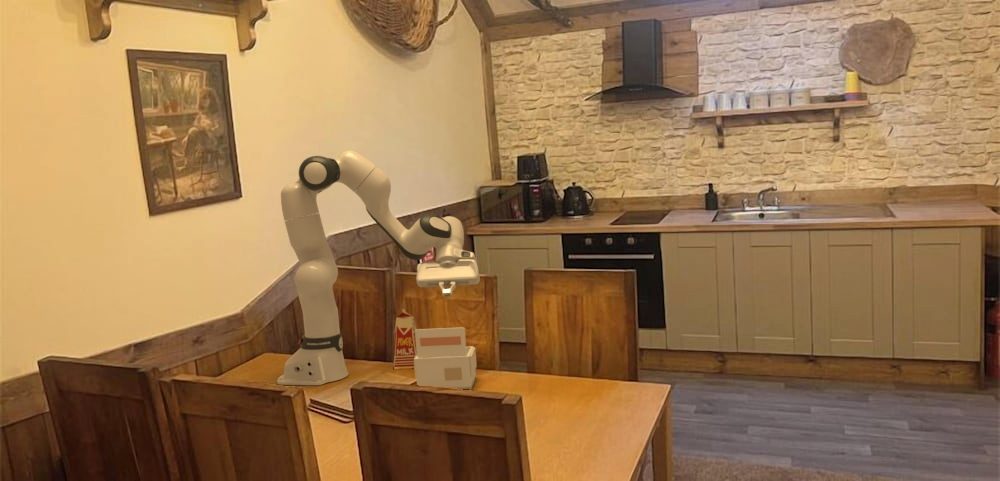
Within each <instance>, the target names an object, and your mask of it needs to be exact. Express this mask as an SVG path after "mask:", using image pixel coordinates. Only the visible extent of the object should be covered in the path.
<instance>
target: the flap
mask: <svg viewBox="0 0 1000 481" xmlns="http://www.w3.org/2000/svg"><path fill="white" fill-rule="evenodd" d="M415 337H416V351H417V357H425V356H448V355H466V347H467V344H466V343H467V341H466V328H465V327H463V326H461V327H460V326H459V327H445V328H444V327H443V328H442V327H440V328H438V327H437V328H418V329H416V330H415Z"/></svg>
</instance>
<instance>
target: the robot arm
mask: <svg viewBox="0 0 1000 481" xmlns="http://www.w3.org/2000/svg"><path fill="white" fill-rule="evenodd" d="M298 177H299V178H298V180H297V181H295V182H291V183H289V184H287V185H285V186H283V188H282V190H281V192H280V201H281V202H280V204H281V210H282V211H281V212H282V216H283V220H284V223H285V224H284V225H285V229H286V232H287V234H288V235H287V236H288V239H289V243H290V246H291V247H292V249H293V250H294V252H295V255H296V257H297V259H298V262H299V265H300V266H299V267H298V268H297V270H296V272H295V275H294V285H295V288H296V290H297V295H298V299H299V303H300V307H301V311H302V317H303V328H304V334H303V335H301V336H302V337H301V338H299V340H298V341H297V342H298V345H299V346H300V348H299V349H297V351H295V352H294V353H293V354H292V355H291V356H290V357H288V359H287V360H286V361H285V364H284V367H283V374H281V375H280V376H279V377H278V378H277V379H276V380H277V385H282V386H288V385H290V386H321V385H324V384H327V383H331V382H336V381H339V380H342V379H344V378H346V377H348V376H349V373H350V372H349V370H348V368H347V364H346V363H345V362H346V361H345V358H344V354H343V353H344V352H343V346H344V345H343V344H344V342H343V336H342V332H341V329H340V320H339V308H338V306H337V302H336V299H335V293H334V289H333V288H334V287H333V286H334V284H335V283H336V281H337V279H338V276H339V269H338V266H337V263H336V261H335V259H334V255H333V252H332V249H331V247H330V245H329V242H328V240H327V237H326V234H325V230H324V227H323V221H322V218H321V215H320V211H319V207H318V202H317V196H318V195H319V194H320V193H322V192H323V191H325V190H327V189H329V188H331V187H332V186H333V184H335V183H341V184H343V185H344V186H346V187H348V188H349V190H351V191H352V192H353V193H355V194H356V195H357V197H359V198H360V199H361V201H362V202H363V204H364V206H365V210H366V212H367V214H368V215H369V217H371V219H372V220H373V221H374V222H375V223H376V224H377V226H379V227H380V228H381V229H382V231H384V232H385V234H386V235H387V236H388V237H389V238H390V239H391V240H392V241H393V242H394V243H395V245H396V246H397V248H398V249H399V251H400V252H401V253H402V255H403V256H404V257H406V258H408V259H410V260H414V261H420V260H423V259H424V258H425V257H426V256H427V254H428V253H429V252H430V251H431V249H433V248H435V250H436V254H435V260H429V261H427V260H424V261H422V262H420V263H418V264H417V266H416V279H415V282H416V284H417V286H418V287H419V288H434V287H435V288H436V287H439V289H440V290H441V295H442V297H452V296H453V292H454V290H456V288H457V286H469V285H470V286H473V285H478V284H479V283H480V282H481V280H480V279H481V277H480V276H481V275H480V272H479V271H480V270H479V266H478V262H477V258H476V255H475V253H474V252H473V251H468V250H464V249H463V247H464V243H465V239H464V238H465V230H464V226H463V223H462V221H461V220H460V219H458V218H457V217H455V216H449V215H447V216H444V217H440V216H438V215H435V214H433V213H425V214H423V215H422V216H420V217H419V219H417V221H415V223H414V224H413V225H412V226H411V227H410V228H409V229H408V228H406V227H405V226H404V225H403V224H402V222H400V221H399V220H398V219H397V218H396V217H395V215H394V214H393V212H391V210H390V206H389V200H390V195H391V190H392V189H391V188H392V187H391V186H392V185H391V181H390V178H389V177H388V175H387V174H386V173H385V172H384V171H383V170H382V169H380V168H379V167H378V166H377V165H376V164H374V163H373V162H372V161H370V160H369V159H368V158H366V157H365V156H363V155H362V154H361V153H359V152H357V151H355V150H350V149H349V150H346V151H343V152H342V153H340V154H339V155H338V156H337V157H336V158H335V159H334V158H331V157H326V156H322V155H313V156H309V157H307V158H305V159H304V160H303V161H302V162H301V163H300V165H299V168H298ZM448 286H449V288H445V287H448Z"/></svg>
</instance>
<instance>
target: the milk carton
mask: <svg viewBox="0 0 1000 481" xmlns="http://www.w3.org/2000/svg"><path fill="white" fill-rule="evenodd" d="M394 326H395V327H394V331H393V332H394V333H393V334H394V335H393V336H394V337H393V338H394V340H393V341H394V342H393V344H394V346H393V348H394V350H393V351H394V352H393V362H392V368H393V367H414V358H415V357H416V355H417V351H416V337H415V330H416V329H417V328H418V327H417V323H416V320H415V317H414V316H413V315H411V314H409V313H408V312H406V309H405V308H401V313H400V314H398V315H397V316H396V318H395V325H394Z"/></svg>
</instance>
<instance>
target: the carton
mask: <svg viewBox="0 0 1000 481" xmlns="http://www.w3.org/2000/svg"><path fill="white" fill-rule="evenodd" d="M477 364H478V363H477V353H476V347H474V346H472V345H471V346H466V355H448V356H425V357H417V355H416V357H415V358H414V369H413V370H414V377H415V378H414V379H415V380H416V386H417V385H419V386H433V387H444V388H457V389H469V390H468V391H472V389H473V386H474V384H475V382H476V379H477V375H476V374H477V372H476V370H477V367H478V366H477Z"/></svg>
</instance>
